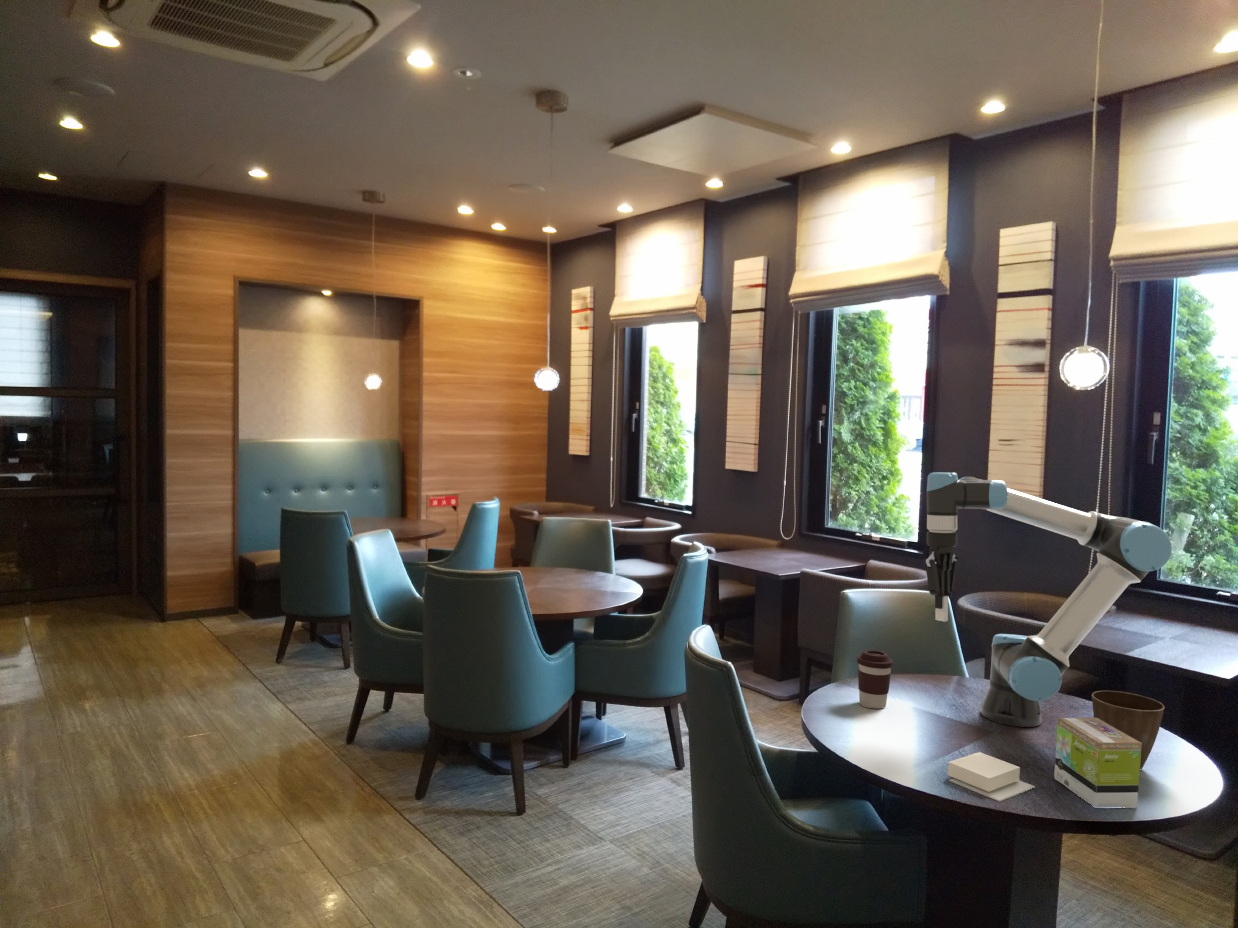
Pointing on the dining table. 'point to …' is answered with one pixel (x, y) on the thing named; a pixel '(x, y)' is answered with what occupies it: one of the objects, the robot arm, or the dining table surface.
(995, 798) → the mat
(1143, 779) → the dining table surface
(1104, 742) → the tea box
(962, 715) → the dining table surface
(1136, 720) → the plant pot
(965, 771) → the tile
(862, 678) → the coffee cup
